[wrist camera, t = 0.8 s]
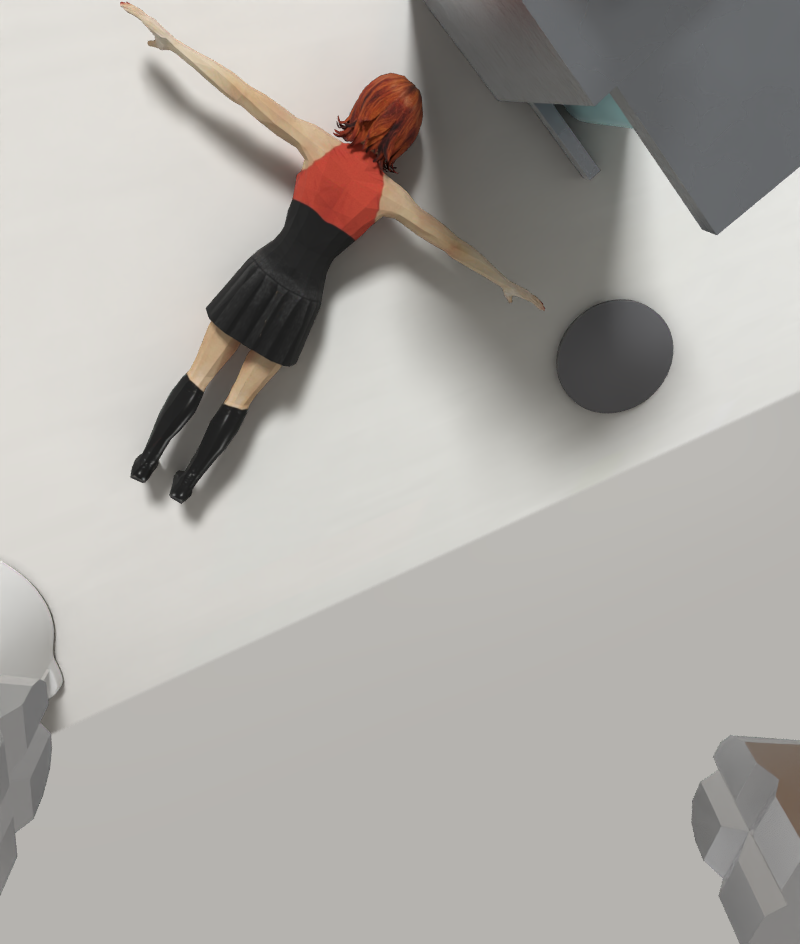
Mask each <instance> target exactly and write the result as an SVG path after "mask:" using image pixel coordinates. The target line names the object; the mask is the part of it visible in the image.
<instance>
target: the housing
mask: <svg viewBox="0 0 800 944" xmlns="http://www.w3.org/2000/svg"><path fill="white" fill-rule="evenodd" d="M423 1H424V3H425V4H426V5H427V7H428V8H429V9H430V11H431V12H432V13H433V15H434V16H435V17H436V19H437V20H438V21H439V23H440V24H441V25H442V27H443V28H444V29H445V31H446V32H447V33H448V35H449V36H450V37H451V39H452V40H453V41H454V43H455V44H456V45H457V47H458V48H459V49H460V51H461V52H462V53H463V55H464V56H465V57H466V59H467V60H468V61H469V63H470V64H471V65H472V67H473V68H474V69H475V71H476V72H477V73H478V75H479V76H480V77H481V79H482V80H483V81H484V83H485V84H486V85H487V87H488V88H489V89H490V91H491V92H492V93H493V95H494V96H495V97H496V99H497V100H498V101H513V102H528V103H529V104H530V106H531V107H532V108H533V110H534V111H535V112H536V114H537V115H538V117H539V118H540V119H541V121H542V122H543V123H544V125H545V126H546V127H547V129H548V130H549V132H550V133H551V134H552V136H553V137H554V138H555V140H556V141H557V142H558V144H559V145H560V147H561V148H562V149H563V151H564V152H565V153H566V155H567V156H568V158H569V159H570V160H571V162H572V163H573V164H574V166H575V167H576V168H577V170H578V171H579V173H580V174H581V175H582V177H583V178H586V179H589V180H590V179H591V178H593V177H594V176H595V175H596V174H597V173H598V172H599V171H600V169H599V168H598V166H597V165H596V164H595V162H594V161H593V159H592V158H591V157H590V155H589V154H588V152H587V151H586V150H585V148H584V147H583V146H582V144H581V143H580V141H579V140H578V139H577V137H576V136H575V134H574V133H573V132H572V130H571V129H570V127H569V126H568V125H567V123H566V122H565V120H564V119H563V118H562V116H561V115H560V113H559V112H558V111H557V109H556V108H555V106H554V105H553V104H564V105H581V106H596V105H597V104H598V103H599V102H600V101H601V100H602V99H603V98H604V97H605V96H606V95H608V94H609V93H610V95H611V96H612V98H613V99H614V100H615V102H616V103H617V105H618V106H619V108H620V109H621V111H622V112H623V114H624V115H625V117H626V118H627V120H628V121H629V123H630V124H631V126H632V127H633V128H634V130H635V131H636V133H637V134H638V136H639V137H640V139H641V140H642V142H643V143H644V145H645V146H646V148H647V149H648V151H649V152H650V153H651V155H652V156H653V158H654V159H655V161H656V162H657V164H658V165H659V167H660V168H661V170H662V171H663V173H664V174H665V176H666V177H667V179H668V180H669V181H670V183H671V184H672V186H673V187H674V189H675V190H676V192H677V193H678V195H679V196H680V198H681V199H682V201H683V202H684V204H685V205H686V206H687V208H688V209H689V211H690V212H691V214H692V215H693V217H694V218H695V220H696V221H697V223H698V224H699V226H700V227H701V229H702V230H705V231H707V232H710V233H713V234H715V235H718V234H719V233H720V232H721V231H723V230H724V229H725V228H726V227H727V226H729V225H730V224H731V223H732V222H733V221H735V220H736V219H737V218H738V217H740V216H741V215H742V214H743V213H744V212H746V211H747V210H748V209H749V208H750V207H752V206H753V205H754V204H755V203H756V202H758V201H759V200H760V199H761V198H762V197H764V196H765V195H766V194H767V193H768V192H770V191H771V190H772V189H773V188H775V187H776V186H777V185H778V184H779V183H781V182H782V181H783V180H784V179H785V178H787V177H788V176H789V175H790V174H791V173H793V172H794V171H795V170H796V169H797V168H799V167H800V0H423Z"/></svg>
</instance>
